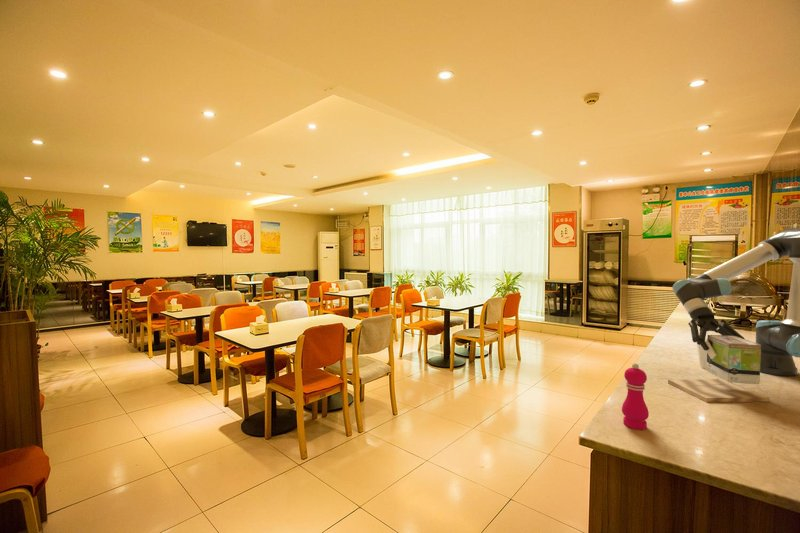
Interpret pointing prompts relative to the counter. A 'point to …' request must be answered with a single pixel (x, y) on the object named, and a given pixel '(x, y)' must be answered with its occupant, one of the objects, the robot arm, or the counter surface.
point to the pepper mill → (635, 399)
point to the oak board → (718, 390)
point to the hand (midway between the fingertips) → (730, 357)
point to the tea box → (735, 359)
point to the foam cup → (702, 356)
